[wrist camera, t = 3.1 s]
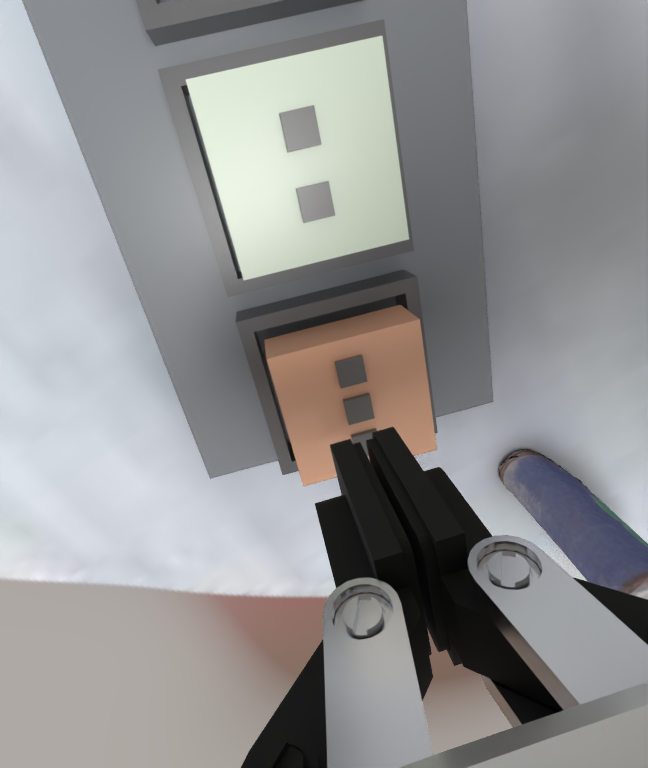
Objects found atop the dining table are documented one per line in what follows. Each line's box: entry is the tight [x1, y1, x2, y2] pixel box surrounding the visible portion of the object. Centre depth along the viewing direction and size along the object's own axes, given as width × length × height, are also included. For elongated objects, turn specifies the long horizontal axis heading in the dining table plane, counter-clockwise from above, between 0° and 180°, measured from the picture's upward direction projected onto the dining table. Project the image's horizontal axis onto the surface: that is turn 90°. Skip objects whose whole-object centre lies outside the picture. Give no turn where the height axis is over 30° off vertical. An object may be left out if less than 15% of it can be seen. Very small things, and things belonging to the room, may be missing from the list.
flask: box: [499, 449, 648, 599], centre depth 21 cm, size 9×3×11 cm, turn 48°
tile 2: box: [186, 36, 409, 280], centre depth 13 cm, size 5×5×2 cm
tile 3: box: [264, 305, 437, 486], centre depth 16 cm, size 5×5×2 cm
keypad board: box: [22, 0, 493, 479], centre depth 16 cm, size 13×22×3 cm, turn 12°
